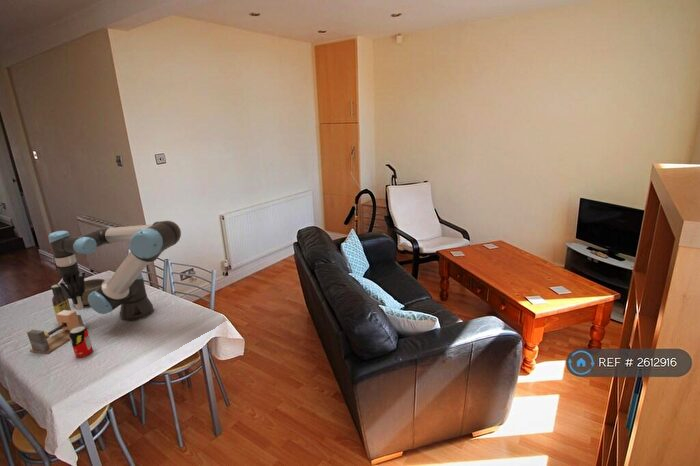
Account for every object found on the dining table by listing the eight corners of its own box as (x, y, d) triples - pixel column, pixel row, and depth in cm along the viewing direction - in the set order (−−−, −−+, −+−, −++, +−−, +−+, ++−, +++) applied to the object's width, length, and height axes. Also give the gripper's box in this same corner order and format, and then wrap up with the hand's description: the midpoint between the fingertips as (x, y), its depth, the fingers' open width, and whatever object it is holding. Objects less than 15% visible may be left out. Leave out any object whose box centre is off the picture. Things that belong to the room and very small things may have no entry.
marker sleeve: (80, 325, 173) (75, 310, 171) (72, 330, 169) (67, 315, 167) (67, 324, 174) (63, 309, 172) (60, 329, 171) (55, 314, 168)
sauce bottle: (65, 326, 178) (54, 289, 172) (55, 324, 180) (43, 288, 173) (77, 319, 184) (66, 283, 178) (67, 317, 186) (56, 282, 179)
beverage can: (82, 349, 160) (75, 325, 156) (96, 349, 160) (89, 325, 156) (71, 358, 154) (64, 333, 150) (86, 358, 154) (79, 333, 150)
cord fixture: (71, 326, 178) (66, 308, 175) (88, 328, 176) (83, 310, 173) (29, 351, 159) (23, 332, 156) (48, 354, 157) (41, 334, 154)
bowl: (102, 290, 214) (98, 275, 211) (116, 298, 204) (112, 282, 201) (68, 302, 201) (63, 286, 198) (80, 312, 191) (75, 294, 188)
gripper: (73, 258, 176) (85, 301, 183) (46, 269, 164) (61, 315, 171) (86, 259, 174) (97, 302, 182) (60, 270, 162) (74, 316, 170)
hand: (80, 308), depth 177 cm, fingers closed
